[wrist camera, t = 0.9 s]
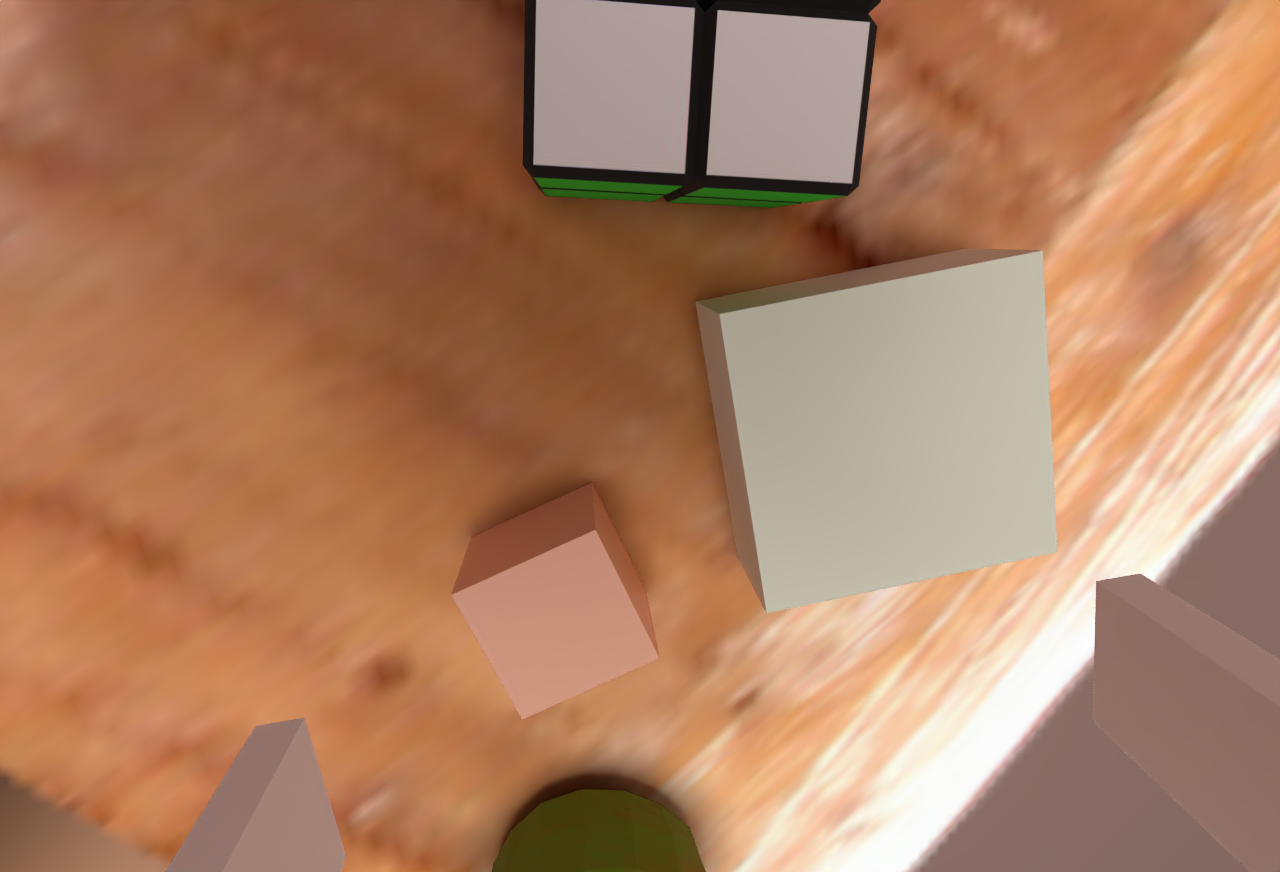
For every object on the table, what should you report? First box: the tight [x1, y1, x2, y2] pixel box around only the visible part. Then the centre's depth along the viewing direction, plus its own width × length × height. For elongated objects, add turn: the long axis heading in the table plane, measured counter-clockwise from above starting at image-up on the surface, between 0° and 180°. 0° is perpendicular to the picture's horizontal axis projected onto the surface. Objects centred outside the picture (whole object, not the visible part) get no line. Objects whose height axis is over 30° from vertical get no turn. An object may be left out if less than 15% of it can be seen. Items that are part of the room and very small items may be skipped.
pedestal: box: [695, 248, 1057, 613], centre depth 32 cm, size 12×12×6 cm
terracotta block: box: [451, 482, 660, 719], centre depth 33 cm, size 6×6×6 cm
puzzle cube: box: [523, 0, 881, 208], centre depth 26 cm, size 10×10×10 cm
